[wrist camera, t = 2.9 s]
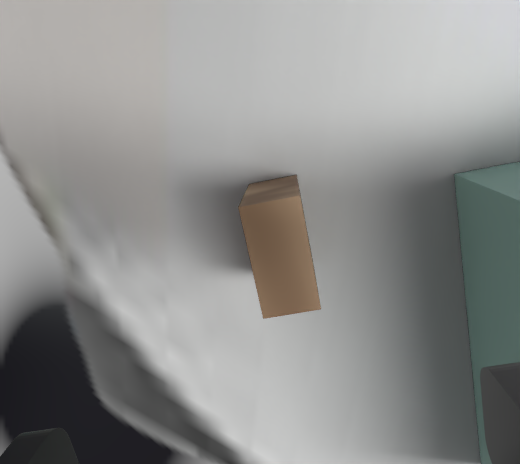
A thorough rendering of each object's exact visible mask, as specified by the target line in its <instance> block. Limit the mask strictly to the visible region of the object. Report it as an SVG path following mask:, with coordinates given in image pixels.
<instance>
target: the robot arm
mask: <svg viewBox="0 0 520 464" xmlns="http://www.w3.org/2000/svg"><path fill="white" fill-rule="evenodd" d="M480 384H481V395H482V407H483V419H484V430H485V440H486V445H487V450H488V453H489V456H490V460H491V462H492V464H520V362H516V363H509V364H502V365H495V366H489V367H483V368H482V369H481V372H480ZM0 464H79V462H78V460H77V457H76V454H75V452H74V449H73V446H72V444H71V441H70V438H69V436H68V434H67V433H66V431H65V430H63V429H62V428H54V429H47V430H41V431H34V432H27V433H22V434H20V435H18V436H17V437H16V438H15V439H14V441H13V442H12V443H11V444H10V445H9V446H8V448H7V449H6V450H5V451H4V453H3V454H2V455H1V456H0Z"/></svg>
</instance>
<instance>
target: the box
mask: <svg viewBox="0 0 520 464" xmlns="http://www.w3.org/2000/svg"><path fill="white" fill-rule="evenodd" d="M454 178H455V189H456V200H457V210H458V221H459V232H460V243H461V254H462V264H463V275H464V286H465V297H466V308H467V318H468V329H469V340H470V351H471V362H472V373H473V383H474V394H475V405H476V416H477V427H478V437H479V448H480V459H481V464H492V462H491V460H490V456H489V453H488V450H487V445H486V440H485V430H484V419H483V407H482V395H481V384H480V372H481V369H482V368H483V367H489V366H495V365H502V364H509V363H516V362H520V162H515V163H510V164H504V165H499V166H494V167H488V168H483V169H478V170H473V171H467V172H462V173H457V174H454Z"/></svg>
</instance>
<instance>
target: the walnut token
mask: <svg viewBox="0 0 520 464" xmlns="http://www.w3.org/2000/svg"><path fill="white" fill-rule="evenodd" d="M238 208H239V212H240V217H241V221H242V226H243V230H244V235H245V239H246V244H247V248H248V253H249V257H250V261H251V266H252V270H253V275H254V279H255V284H256V288H257V293H258V297H259V301H260V306H261V310H262V315H263V319H264V318H271V317H277V316H283V315H289V314H295V313H301V312H307V311H314V310H320V309H321V306H320V301H319V295H318V289H317V283H316V277H315V272H314V266H313V260H312V255H311V250H310V244H309V239H308V234H307V228H306V223H305V217H304V212H303V207H302V201H301V196H300V190H299V185H298V180H297V175H293V176H287V177H282V178H277V179H272V180H267V181H262V182H257V183H252V184H249V185H248V188H247V190H246V192H245V194H244V196H243V198H242V201H241V203H240V205H239V207H238Z"/></svg>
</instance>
